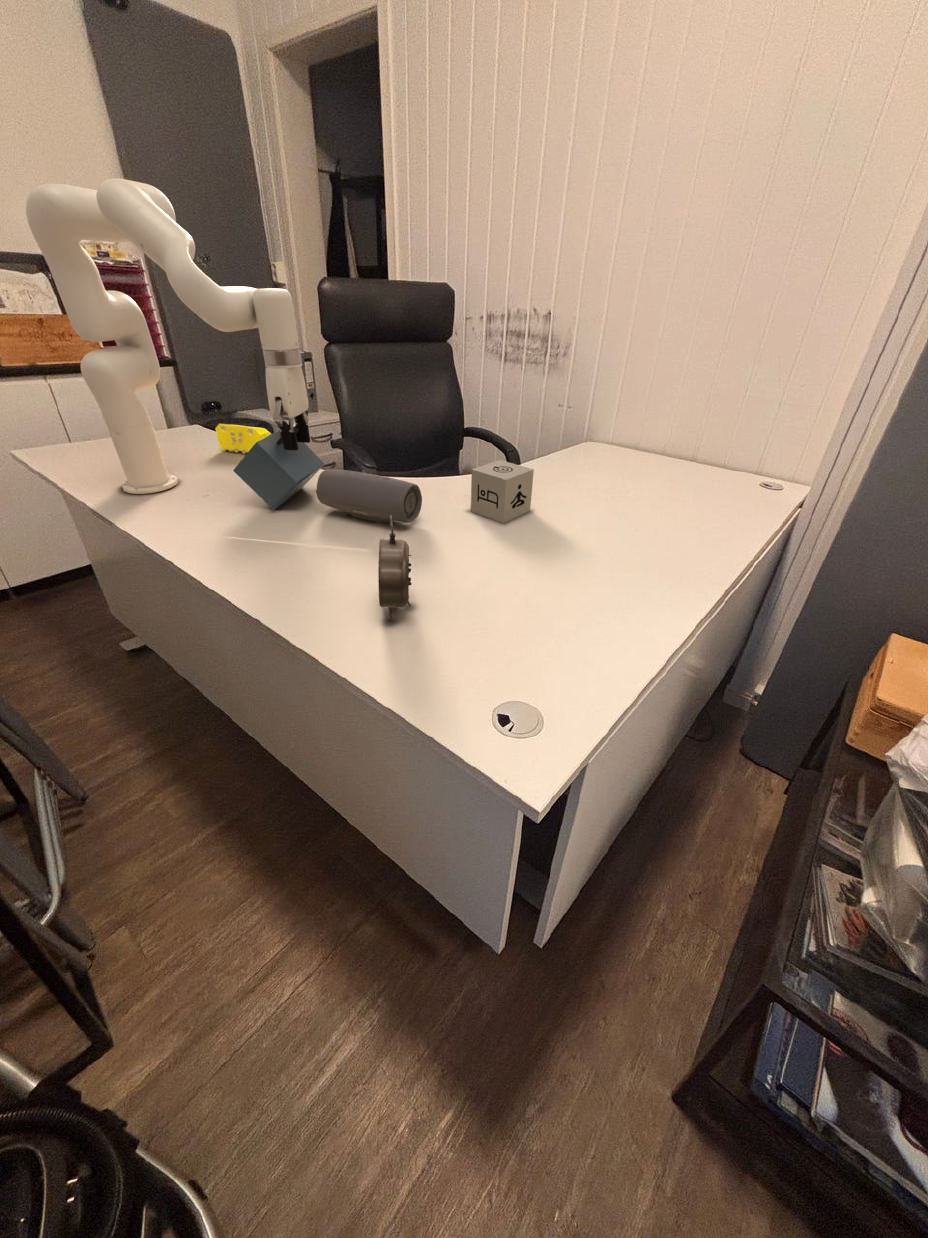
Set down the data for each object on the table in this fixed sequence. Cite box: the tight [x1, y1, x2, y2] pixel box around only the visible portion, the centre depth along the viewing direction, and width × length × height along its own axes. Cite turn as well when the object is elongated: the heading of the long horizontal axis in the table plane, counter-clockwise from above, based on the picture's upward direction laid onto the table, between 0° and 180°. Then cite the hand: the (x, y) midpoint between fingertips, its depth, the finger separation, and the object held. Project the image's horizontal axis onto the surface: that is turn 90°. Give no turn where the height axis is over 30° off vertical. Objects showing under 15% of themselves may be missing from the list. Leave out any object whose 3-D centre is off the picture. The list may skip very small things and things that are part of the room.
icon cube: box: [470, 459, 535, 524], centre depth 117 cm, size 10×10×10 cm
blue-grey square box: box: [232, 424, 325, 511], centre depth 119 cm, size 12×15×14 cm
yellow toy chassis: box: [214, 423, 272, 455], centre depth 155 cm, size 16×6×8 cm, turn 71°
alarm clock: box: [377, 516, 412, 623], centre depth 81 cm, size 11×5×16 cm, turn 5°
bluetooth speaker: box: [315, 468, 423, 523], centre depth 113 cm, size 23×9×10 cm, turn 65°
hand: (297, 445), depth 117 cm, fingers closed on blue-grey square box, 5 cm apart
